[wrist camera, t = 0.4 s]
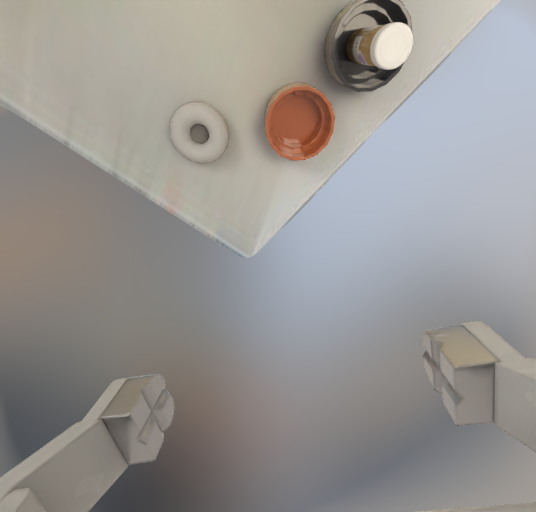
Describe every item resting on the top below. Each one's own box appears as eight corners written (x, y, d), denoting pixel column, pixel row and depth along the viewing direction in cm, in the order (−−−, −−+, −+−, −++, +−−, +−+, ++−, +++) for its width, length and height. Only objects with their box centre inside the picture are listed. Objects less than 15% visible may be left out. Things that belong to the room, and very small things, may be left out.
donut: (240, 131, 51) (195, 85, 47) (240, 136, 49) (192, 88, 44) (205, 170, 55) (160, 131, 51) (203, 177, 53) (155, 136, 48)
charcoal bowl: (347, -17, 40) (359, -25, 36) (411, 20, 43) (429, 17, 38) (312, 70, 46) (318, 73, 42) (370, 98, 49) (381, 103, 44)
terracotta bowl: (279, 70, 46) (281, 73, 42) (338, 98, 49) (347, 103, 44) (256, 137, 52) (256, 146, 48) (310, 159, 55) (314, 169, 50)
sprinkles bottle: (339, 52, 45) (366, 54, 34) (359, 19, 42) (395, 11, 32) (361, 70, 46) (393, 78, 35) (381, 40, 44) (423, 39, 33)
